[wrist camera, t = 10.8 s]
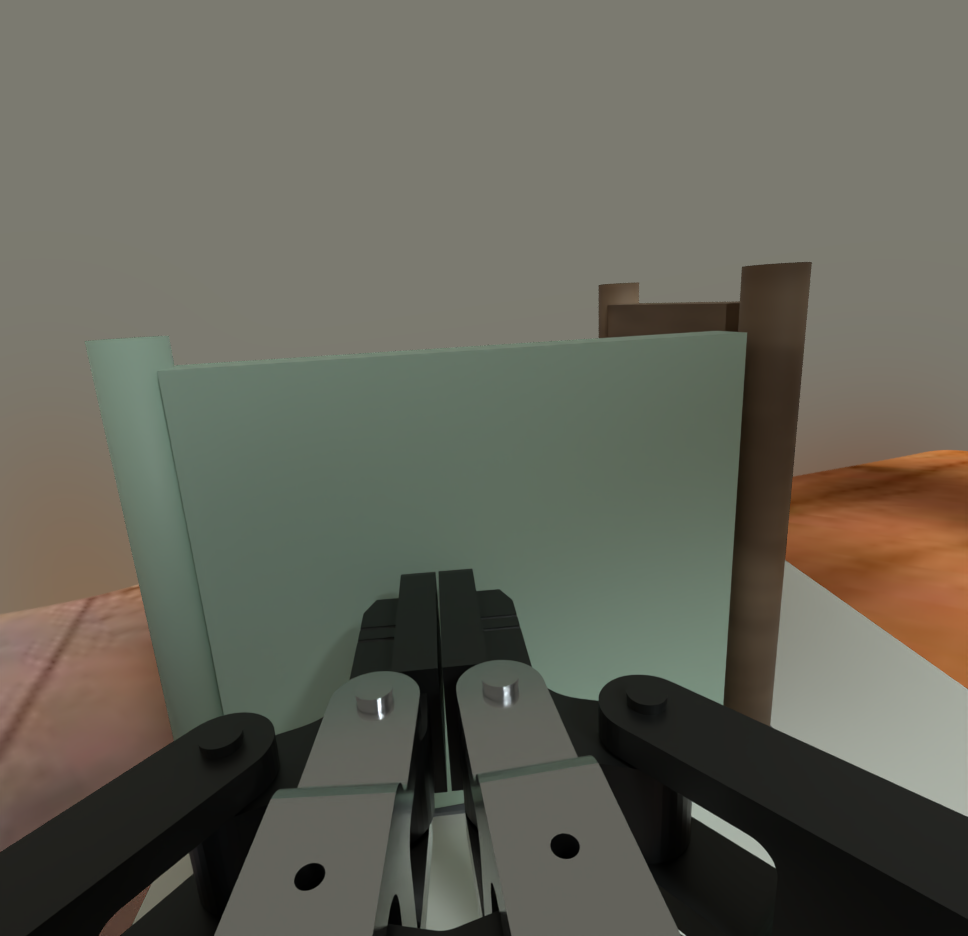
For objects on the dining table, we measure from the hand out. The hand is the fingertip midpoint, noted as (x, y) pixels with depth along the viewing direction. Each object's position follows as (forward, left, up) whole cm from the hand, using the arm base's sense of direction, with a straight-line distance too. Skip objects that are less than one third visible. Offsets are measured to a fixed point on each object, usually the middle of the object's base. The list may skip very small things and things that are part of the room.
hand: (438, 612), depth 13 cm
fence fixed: (-8, -8, -6) cm, 13 cm away
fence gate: (0, -1, -6) cm, 6 cm away
